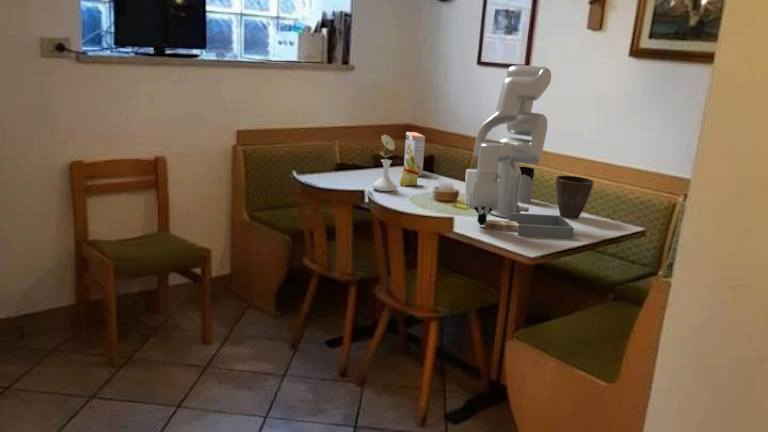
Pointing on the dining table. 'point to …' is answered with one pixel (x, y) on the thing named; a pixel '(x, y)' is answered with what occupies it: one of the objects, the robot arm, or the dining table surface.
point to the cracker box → (415, 148)
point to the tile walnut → (493, 225)
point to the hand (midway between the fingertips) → (481, 224)
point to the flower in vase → (386, 168)
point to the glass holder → (526, 185)
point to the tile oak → (510, 225)
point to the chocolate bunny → (410, 172)
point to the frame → (554, 229)
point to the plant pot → (572, 195)
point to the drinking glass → (469, 183)
